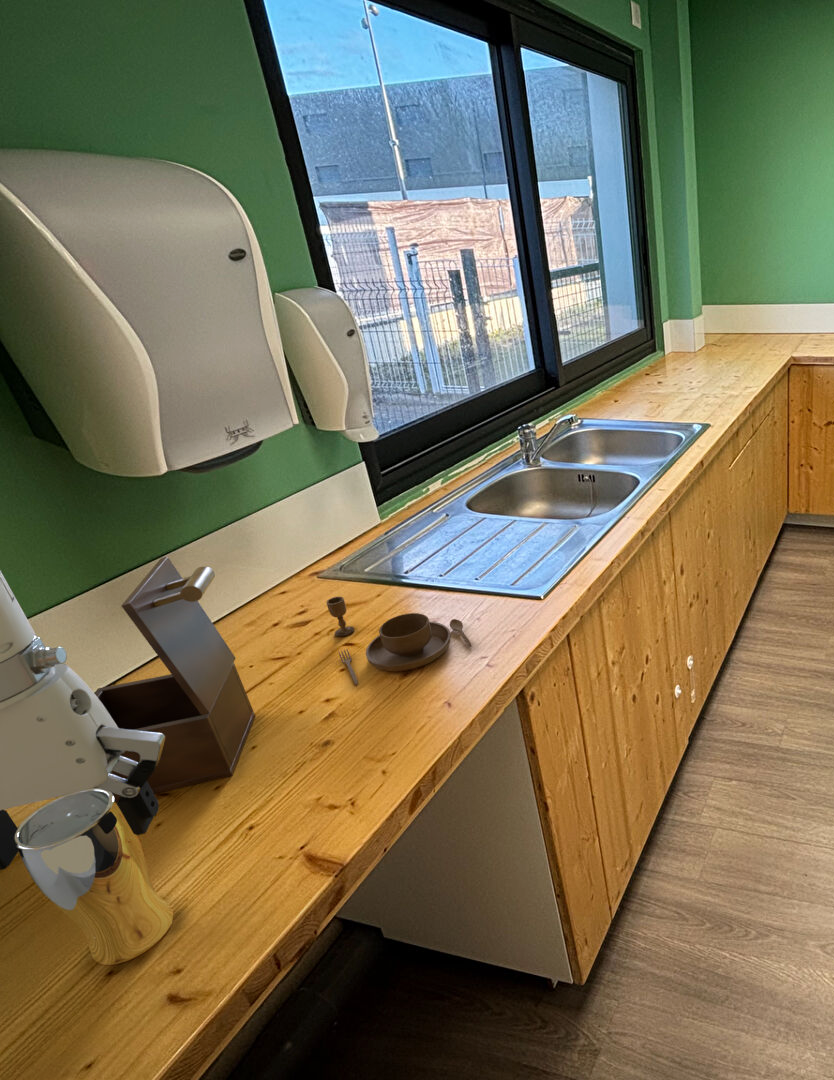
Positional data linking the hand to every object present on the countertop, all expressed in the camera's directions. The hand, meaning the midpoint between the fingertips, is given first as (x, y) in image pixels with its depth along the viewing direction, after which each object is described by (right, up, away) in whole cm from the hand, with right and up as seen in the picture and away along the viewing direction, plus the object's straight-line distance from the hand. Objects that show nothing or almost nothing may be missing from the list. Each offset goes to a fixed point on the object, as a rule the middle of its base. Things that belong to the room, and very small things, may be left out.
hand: (80, 839), depth 60 cm
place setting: (+5, +10, +49) cm, 50 cm away
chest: (-12, -1, +26) cm, 29 cm away
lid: (-8, +15, +21) cm, 27 cm away
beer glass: (0, -11, +5) cm, 13 cm away
